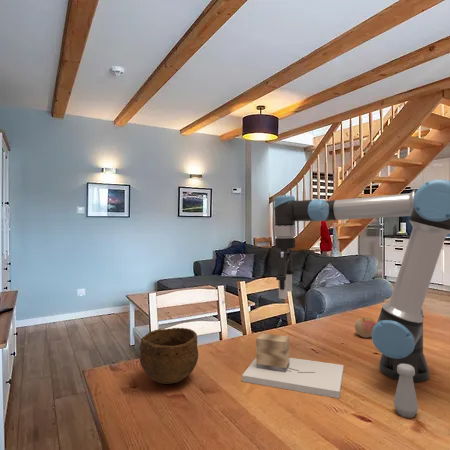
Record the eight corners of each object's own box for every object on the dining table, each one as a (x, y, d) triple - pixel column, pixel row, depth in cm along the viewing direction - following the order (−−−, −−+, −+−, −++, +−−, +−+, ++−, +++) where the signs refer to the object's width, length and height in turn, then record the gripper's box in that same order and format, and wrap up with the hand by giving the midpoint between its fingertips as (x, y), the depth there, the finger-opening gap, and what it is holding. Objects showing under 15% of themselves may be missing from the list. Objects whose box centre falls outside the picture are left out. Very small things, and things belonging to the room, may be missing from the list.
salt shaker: (389, 408, 96) (389, 361, 96) (409, 407, 97) (409, 360, 97) (402, 420, 91) (401, 370, 90) (423, 419, 91) (423, 369, 91)
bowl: (149, 401, 101) (148, 349, 101) (134, 375, 118) (133, 331, 118) (208, 386, 110) (207, 339, 110) (186, 364, 126) (186, 323, 126)
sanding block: (289, 365, 120) (289, 336, 120) (285, 372, 115) (285, 342, 115) (261, 361, 124) (261, 333, 124) (256, 368, 118) (256, 338, 118)
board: (343, 370, 120) (343, 365, 120) (339, 398, 102) (339, 391, 102) (259, 358, 132) (259, 353, 132) (242, 381, 113) (241, 375, 113)
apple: (377, 335, 157) (377, 317, 157) (374, 341, 150) (374, 322, 150) (357, 332, 162) (357, 314, 162) (352, 337, 154) (352, 319, 154)
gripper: (280, 236, 143) (281, 288, 143) (268, 239, 119) (269, 301, 119) (299, 236, 140) (300, 288, 141) (290, 239, 117) (291, 302, 117)
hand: (285, 294), depth 130 cm, fingers open, 13 cm apart
